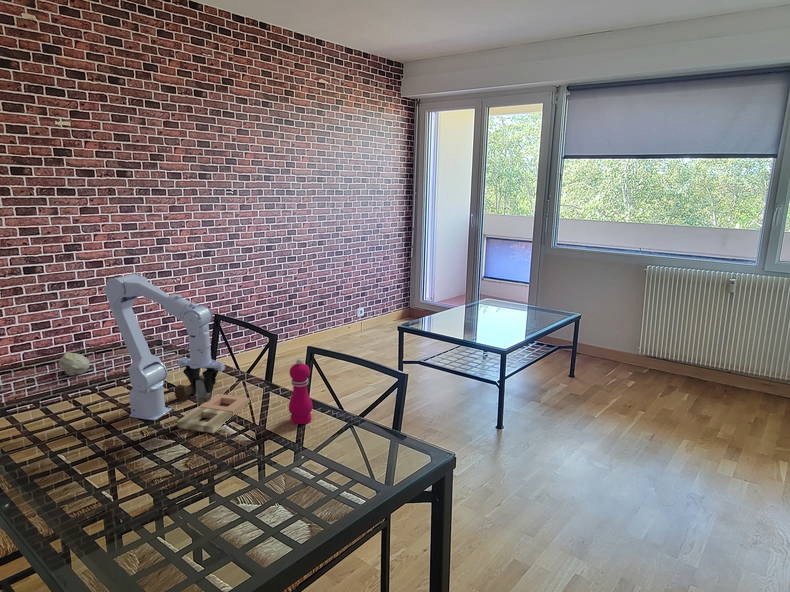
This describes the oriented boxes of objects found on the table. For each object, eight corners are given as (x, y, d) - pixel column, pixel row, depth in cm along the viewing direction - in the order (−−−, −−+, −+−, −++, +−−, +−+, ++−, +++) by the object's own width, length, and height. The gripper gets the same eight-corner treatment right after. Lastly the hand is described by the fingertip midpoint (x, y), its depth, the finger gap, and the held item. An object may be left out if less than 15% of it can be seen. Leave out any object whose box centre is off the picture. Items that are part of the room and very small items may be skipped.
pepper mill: (317, 418, 160) (316, 357, 156) (304, 428, 154) (302, 365, 149) (298, 413, 163) (296, 353, 159) (284, 422, 157) (282, 360, 152)
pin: (193, 401, 153) (192, 379, 151) (202, 396, 157) (200, 374, 155) (205, 403, 152) (204, 381, 150) (213, 397, 156) (212, 376, 154)
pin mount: (177, 427, 153) (177, 421, 152) (198, 412, 162) (197, 407, 162) (213, 433, 150) (212, 426, 150) (232, 417, 159) (231, 412, 159)
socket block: (199, 412, 163) (198, 406, 162) (217, 399, 172) (217, 393, 172) (233, 417, 160) (232, 411, 159) (249, 403, 169) (249, 398, 169)
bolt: (215, 390, 184) (182, 405, 171) (205, 381, 185) (172, 395, 172) (221, 378, 182) (188, 392, 169) (211, 369, 183) (177, 382, 170)
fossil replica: (83, 366, 200) (55, 376, 192) (77, 345, 197) (49, 355, 190) (98, 370, 193) (70, 381, 185) (92, 350, 191) (63, 359, 183)
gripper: (169, 349, 149) (173, 393, 152) (213, 354, 145) (216, 399, 148) (184, 341, 155) (188, 383, 158) (227, 346, 152) (230, 389, 155)
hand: (203, 390), depth 154 cm, fingers closed on pin, 4 cm apart
